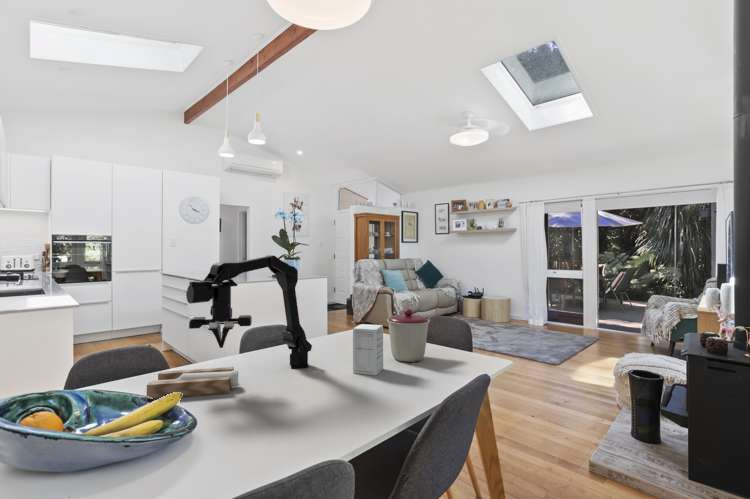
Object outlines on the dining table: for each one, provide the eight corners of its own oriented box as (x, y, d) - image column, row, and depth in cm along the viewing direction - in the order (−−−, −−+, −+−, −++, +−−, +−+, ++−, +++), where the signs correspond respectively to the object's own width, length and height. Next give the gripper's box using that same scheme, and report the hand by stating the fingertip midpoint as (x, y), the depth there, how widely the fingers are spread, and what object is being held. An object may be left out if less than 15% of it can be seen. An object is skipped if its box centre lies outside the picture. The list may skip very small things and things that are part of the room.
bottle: (236, 374, 119) (149, 380, 113) (236, 389, 120) (150, 396, 114) (238, 367, 124) (155, 372, 118) (238, 381, 125) (156, 387, 119)
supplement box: (383, 368, 144) (384, 324, 144) (376, 376, 135) (377, 329, 135) (360, 366, 146) (360, 323, 147) (352, 373, 138) (352, 327, 138)
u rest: (233, 379, 129) (233, 367, 129) (228, 393, 117) (228, 379, 117) (160, 385, 124) (160, 371, 124) (146, 400, 111) (146, 385, 111)
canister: (377, 358, 157) (378, 308, 157) (405, 351, 170) (406, 304, 170) (410, 368, 144) (411, 313, 145) (438, 359, 157) (438, 309, 157)
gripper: (253, 296, 133) (252, 340, 133) (196, 298, 129) (196, 343, 129) (250, 300, 123) (250, 348, 123) (188, 302, 118) (188, 351, 118)
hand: (221, 347), depth 123 cm, fingers closed
